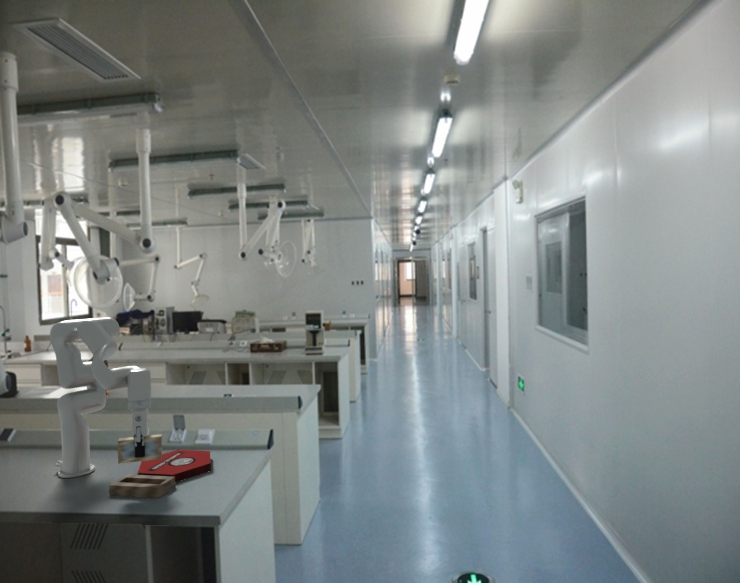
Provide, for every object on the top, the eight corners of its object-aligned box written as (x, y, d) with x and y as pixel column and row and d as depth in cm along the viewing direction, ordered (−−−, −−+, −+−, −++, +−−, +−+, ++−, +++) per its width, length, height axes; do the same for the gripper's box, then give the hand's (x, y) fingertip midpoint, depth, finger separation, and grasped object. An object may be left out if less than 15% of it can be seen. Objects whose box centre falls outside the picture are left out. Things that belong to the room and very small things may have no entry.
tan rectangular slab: (118, 463, 179) (117, 440, 178) (119, 460, 182) (118, 438, 181) (161, 458, 183) (161, 436, 183) (162, 456, 186) (161, 434, 186)
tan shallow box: (109, 495, 179) (109, 485, 179) (128, 483, 189) (127, 474, 189) (158, 497, 176) (158, 487, 176) (175, 486, 185) (174, 476, 185)
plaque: (119, 481, 193) (192, 485, 187) (119, 472, 193) (192, 475, 187) (161, 457, 219) (227, 460, 213) (161, 448, 219) (226, 451, 213)
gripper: (149, 408, 175) (150, 461, 176) (152, 397, 191) (153, 446, 191) (125, 410, 173) (126, 464, 173) (130, 399, 188) (131, 449, 189)
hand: (140, 454), depth 182 cm, fingers closed on tan rectangular slab, 3 cm apart
